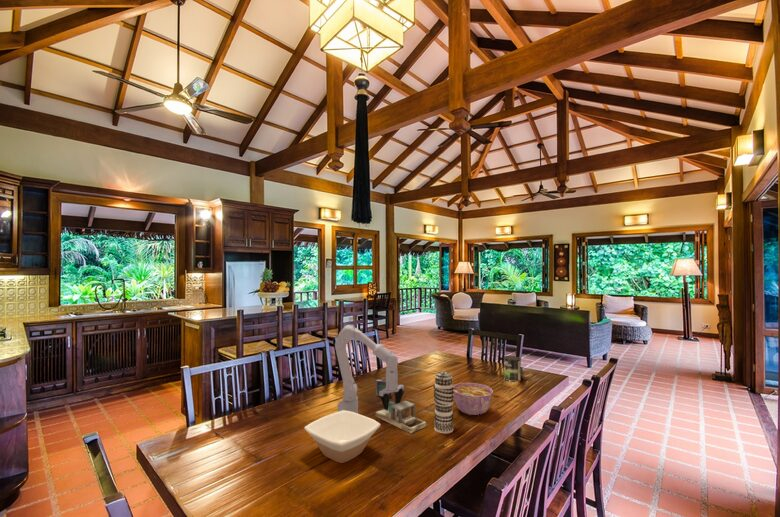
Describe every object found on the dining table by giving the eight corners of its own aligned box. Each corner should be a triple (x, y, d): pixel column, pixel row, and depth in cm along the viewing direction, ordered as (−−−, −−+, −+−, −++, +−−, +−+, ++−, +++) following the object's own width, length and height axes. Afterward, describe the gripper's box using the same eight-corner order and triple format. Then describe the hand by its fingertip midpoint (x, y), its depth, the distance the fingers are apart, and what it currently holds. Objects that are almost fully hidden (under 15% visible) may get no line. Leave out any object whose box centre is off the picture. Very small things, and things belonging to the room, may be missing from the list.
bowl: (343, 432, 155) (343, 407, 156) (386, 450, 140) (386, 423, 140) (298, 454, 137) (298, 426, 137) (341, 478, 122) (342, 447, 122)
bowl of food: (495, 422, 165) (494, 397, 165) (451, 419, 169) (451, 394, 169) (491, 406, 184) (491, 384, 185) (452, 403, 188) (452, 381, 189)
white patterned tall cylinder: (438, 435, 153) (438, 377, 153) (430, 425, 162) (430, 371, 162) (457, 432, 155) (457, 375, 156) (448, 423, 164) (448, 369, 165)
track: (410, 433, 154) (410, 414, 154) (375, 416, 172) (375, 399, 172) (426, 426, 161) (426, 408, 161) (390, 410, 179) (390, 394, 179)
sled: (405, 423, 159) (405, 412, 159) (385, 413, 169) (385, 403, 170) (415, 419, 163) (415, 408, 163) (394, 410, 174) (394, 400, 174)
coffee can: (512, 382, 222) (511, 360, 222) (500, 378, 231) (500, 356, 231) (524, 380, 226) (524, 358, 226) (512, 376, 235) (512, 355, 236)
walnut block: (402, 418, 162) (402, 410, 162) (396, 416, 165) (396, 407, 165) (409, 416, 165) (409, 407, 165) (403, 413, 168) (403, 405, 168)
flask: (375, 396, 199) (375, 377, 199) (377, 394, 201) (377, 375, 201) (390, 398, 195) (390, 379, 195) (392, 397, 197) (392, 377, 198)
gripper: (386, 384, 163) (386, 414, 163) (408, 377, 173) (408, 405, 173) (376, 380, 168) (376, 409, 168) (398, 374, 178) (398, 401, 178)
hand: (391, 407), depth 171 cm, fingers open, 7 cm apart
